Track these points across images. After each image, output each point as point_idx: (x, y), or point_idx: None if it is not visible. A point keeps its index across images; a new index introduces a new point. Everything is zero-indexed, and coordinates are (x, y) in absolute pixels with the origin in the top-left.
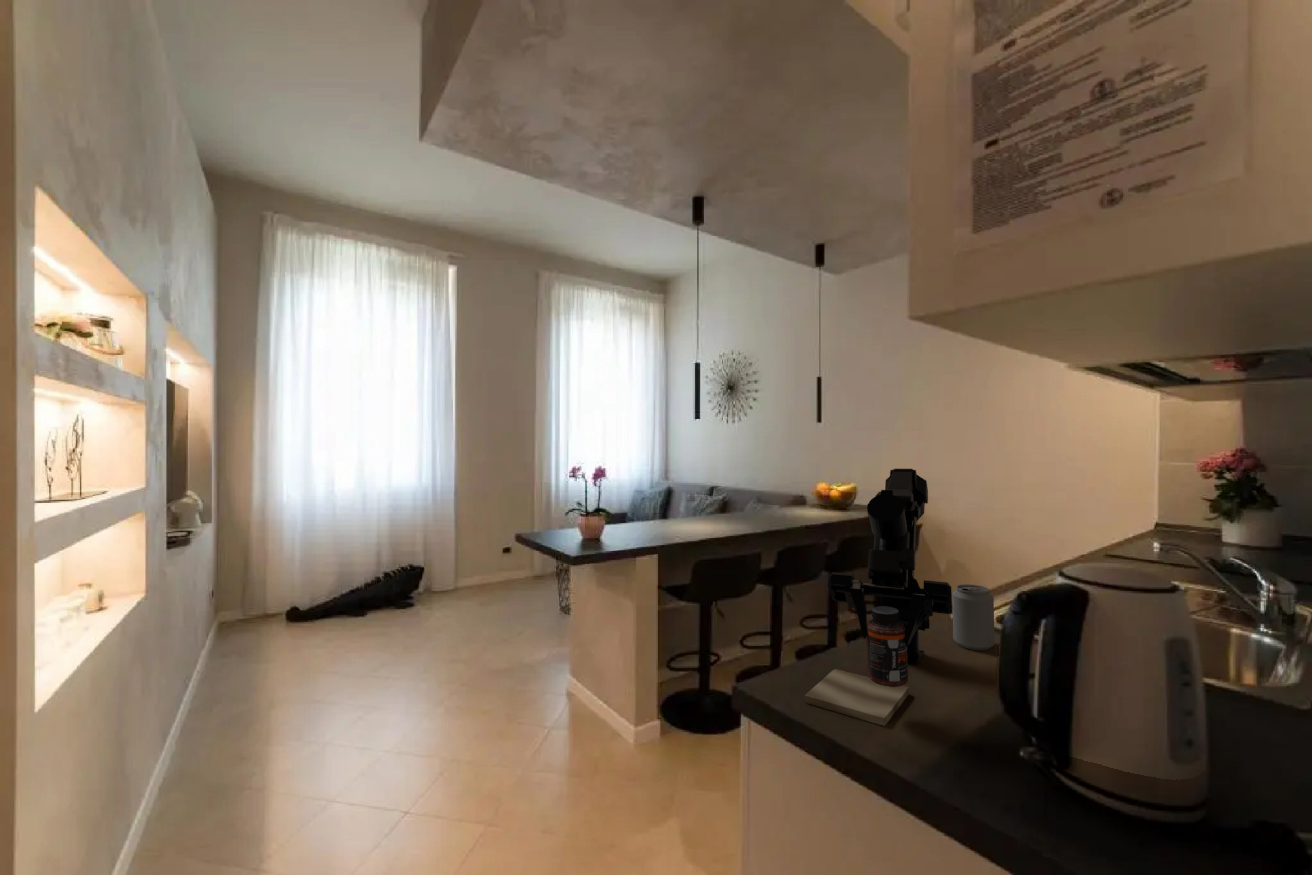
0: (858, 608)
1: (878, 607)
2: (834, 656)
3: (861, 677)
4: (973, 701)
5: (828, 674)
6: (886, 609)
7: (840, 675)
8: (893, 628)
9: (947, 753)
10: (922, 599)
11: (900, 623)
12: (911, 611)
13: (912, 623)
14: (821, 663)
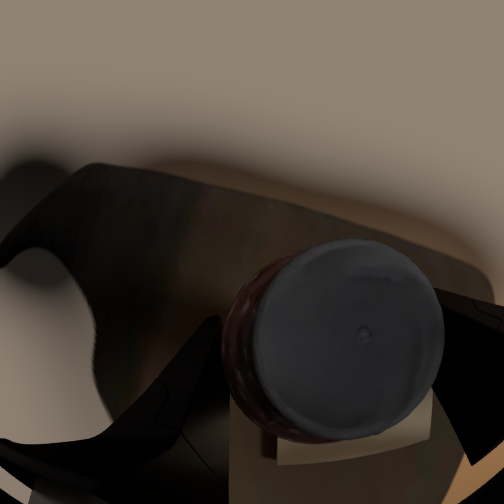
0: (494, 311)
1: (421, 360)
2: (437, 494)
3: (376, 444)
4: None
5: (431, 407)
6: (357, 346)
7: (412, 421)
8: (267, 281)
9: (168, 276)
10: (30, 445)
11: (245, 352)
12: (166, 422)
13: (174, 367)
14: (450, 456)
